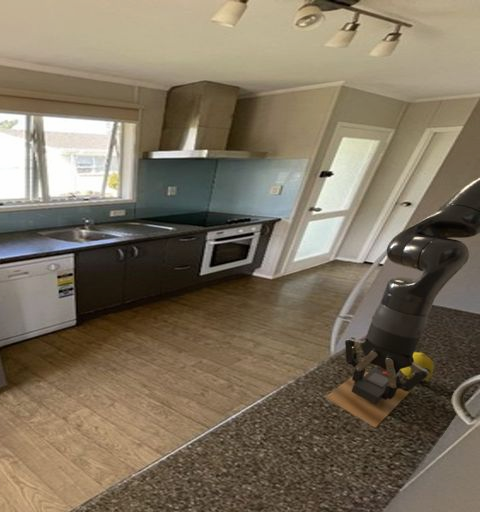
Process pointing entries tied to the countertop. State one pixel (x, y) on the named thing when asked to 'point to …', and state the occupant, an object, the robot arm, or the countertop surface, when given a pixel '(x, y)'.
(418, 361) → the lemon
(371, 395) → the remote
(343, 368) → the countertop surface
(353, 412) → the placemat
